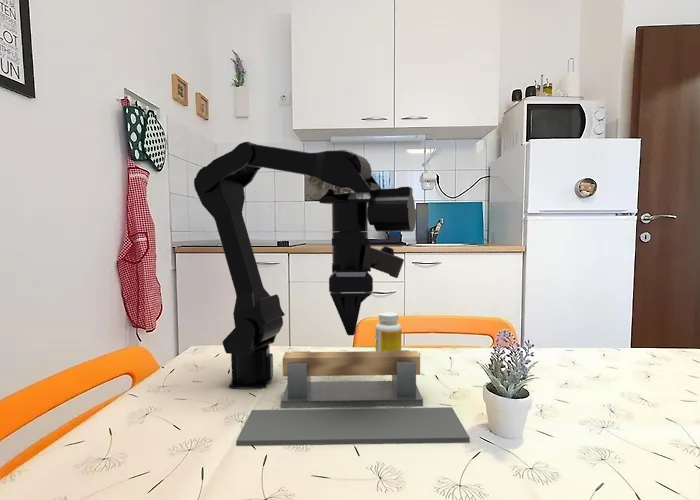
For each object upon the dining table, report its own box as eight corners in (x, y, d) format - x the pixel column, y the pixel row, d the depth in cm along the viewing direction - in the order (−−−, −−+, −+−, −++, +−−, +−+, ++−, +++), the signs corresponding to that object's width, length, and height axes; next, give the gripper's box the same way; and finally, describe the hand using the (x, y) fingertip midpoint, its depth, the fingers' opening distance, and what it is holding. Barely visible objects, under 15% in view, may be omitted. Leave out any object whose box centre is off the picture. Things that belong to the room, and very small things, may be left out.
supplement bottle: (370, 358, 88) (370, 313, 88) (388, 353, 92) (388, 310, 91) (388, 365, 84) (388, 317, 84) (406, 359, 88) (406, 314, 87)
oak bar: (282, 376, 67) (282, 358, 67) (285, 370, 70) (285, 352, 70) (420, 374, 67) (420, 356, 67) (417, 368, 70) (417, 350, 70)
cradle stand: (280, 407, 65) (280, 366, 64) (288, 387, 73) (287, 350, 72) (423, 405, 65) (423, 364, 65) (414, 386, 73) (414, 349, 73)
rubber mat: (236, 445, 54) (236, 440, 54) (252, 413, 63) (252, 409, 63) (469, 442, 54) (469, 437, 54) (452, 411, 63) (452, 407, 63)
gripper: (408, 232, 58) (408, 343, 59) (393, 230, 77) (393, 315, 78) (328, 233, 58) (329, 344, 59) (332, 231, 77) (333, 315, 78)
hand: (350, 327), depth 68 cm, fingers open, 9 cm apart
